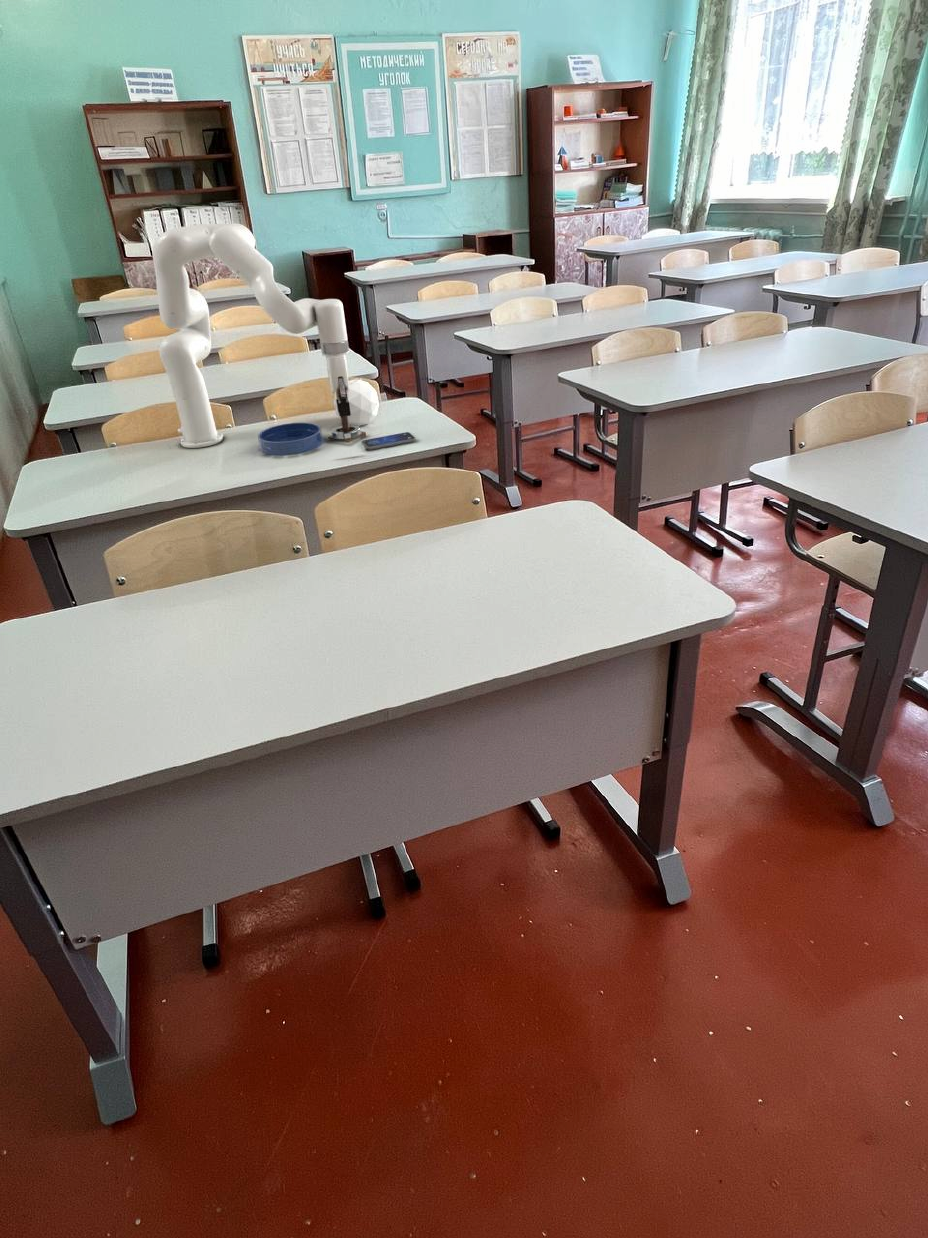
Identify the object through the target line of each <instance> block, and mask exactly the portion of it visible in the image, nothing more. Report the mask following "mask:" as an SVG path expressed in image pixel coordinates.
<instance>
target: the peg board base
mask: <svg viewBox="0 0 928 1238" xmlns="http://www.w3.org/2000/svg"><path fill="white" fill-rule="evenodd" d="M340 421H341V426H342V429H343V432H350V429H349V425H350V424H349V423H348V416H344V417H341V419H340ZM360 431H361V434H360V435H359V436H357V437H354V438H349V439H336V438H333V437H332V434H331V435H329V436H327V440H331V441H336V442H343V443H351V442H354V441H355V440H357V439H359V438H360V439H361V440H364V439H365V438H367V432H366V431H363V430H360Z"/></svg>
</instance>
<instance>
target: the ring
mask: <svg viewBox="0 0 928 1238" xmlns="http://www.w3.org/2000/svg"><path fill="white" fill-rule="evenodd" d="M349 429H350V432H343V429H342V425H340V426H335V427H333V428H332V429H331V430H330V433H331V435H332V437H333V438H336V439H349V438H354V437H357V436H359V435H360V434H361V431H362V430H361V426H356V425H350V424H349Z"/></svg>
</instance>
